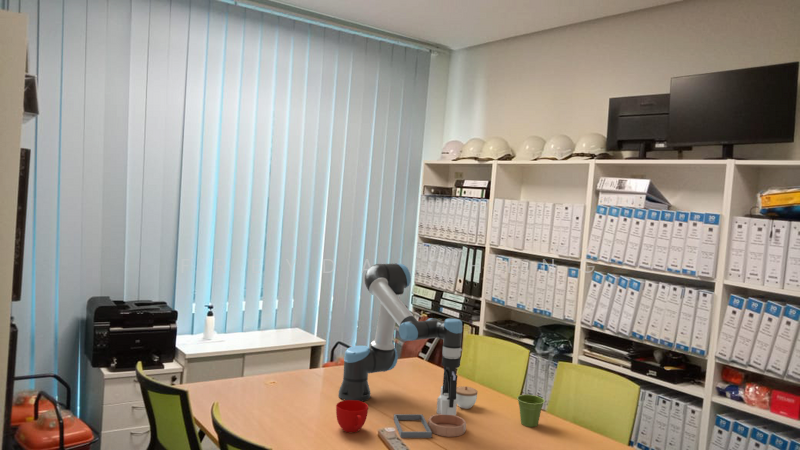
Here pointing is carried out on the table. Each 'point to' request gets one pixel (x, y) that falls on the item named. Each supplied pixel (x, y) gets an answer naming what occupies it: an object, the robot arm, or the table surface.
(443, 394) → the medicine bottle
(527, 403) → the plant pot
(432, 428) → the bowl
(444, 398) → the white cube
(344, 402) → the ceramic cup
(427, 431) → the parts tray
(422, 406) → the table surface
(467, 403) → the lidded jar
